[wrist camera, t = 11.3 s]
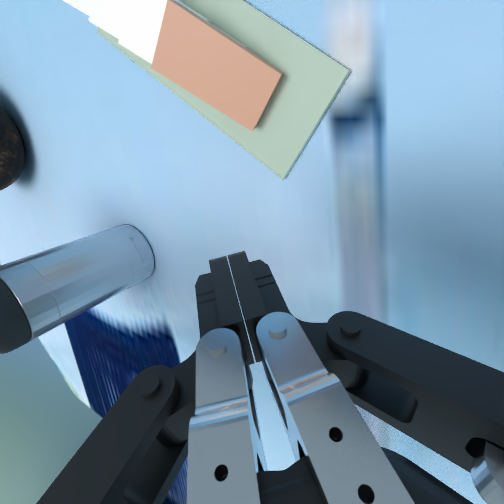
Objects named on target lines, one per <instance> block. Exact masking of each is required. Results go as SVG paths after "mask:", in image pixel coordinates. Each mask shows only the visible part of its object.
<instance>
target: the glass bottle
mask: <svg viewBox="0 0 504 504" xmlns="http://www.w3.org/2000/svg"><path fill="white" fill-rule="evenodd" d="M24 163H25V152H24V146H23V142H22V139H21V137H20V134H19V132H18V130H17V128H16V126H15V124H14V123H13V121H12V120H11V118H10V117H9V116H8V114H7V113H6V112H5V111H4V110H3V109H2V108H1V107H0V190H2V189H4V188H6V187H8V186H9V185H11V184H12V183H13V182H14V181H15V180H17V178H18V177H19V176H20V174H21V172H22V170H23V168H24Z"/></svg>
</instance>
